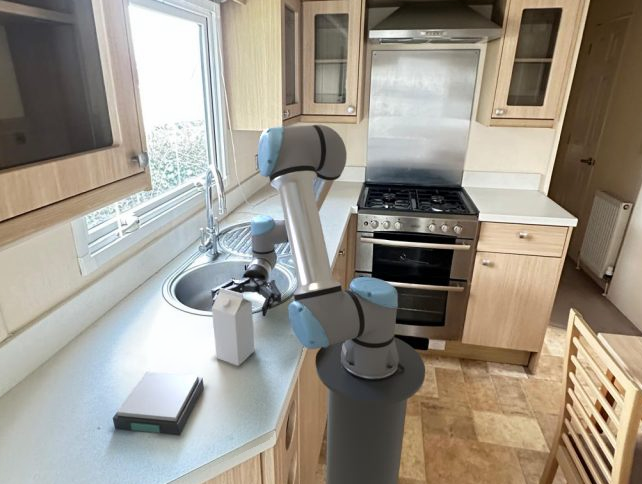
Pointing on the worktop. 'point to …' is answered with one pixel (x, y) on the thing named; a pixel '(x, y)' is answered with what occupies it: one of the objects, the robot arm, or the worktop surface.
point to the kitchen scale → (159, 403)
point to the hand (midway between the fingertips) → (238, 310)
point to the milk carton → (233, 327)
